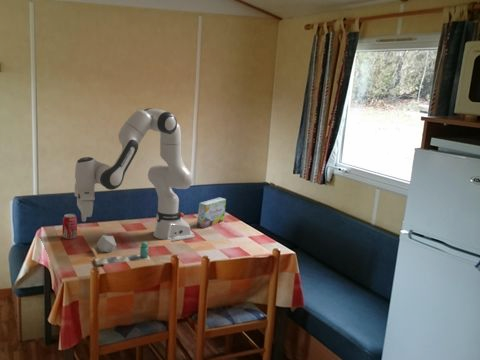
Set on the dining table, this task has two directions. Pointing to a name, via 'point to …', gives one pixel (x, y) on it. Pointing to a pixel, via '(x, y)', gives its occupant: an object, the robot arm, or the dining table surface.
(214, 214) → the snack box
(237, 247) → the dining table surface
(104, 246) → the die
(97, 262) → the track
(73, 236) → the soda can
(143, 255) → the pawn
